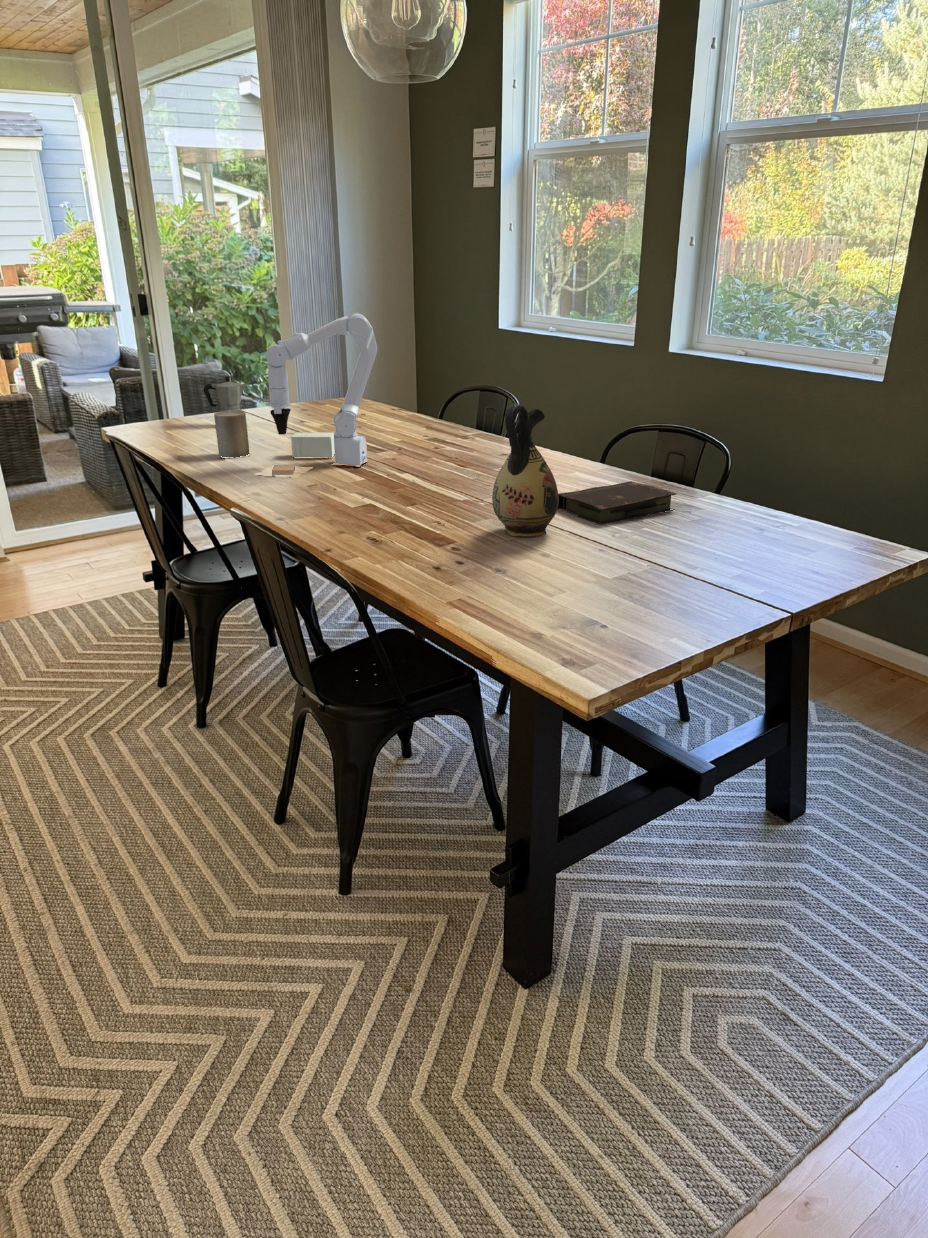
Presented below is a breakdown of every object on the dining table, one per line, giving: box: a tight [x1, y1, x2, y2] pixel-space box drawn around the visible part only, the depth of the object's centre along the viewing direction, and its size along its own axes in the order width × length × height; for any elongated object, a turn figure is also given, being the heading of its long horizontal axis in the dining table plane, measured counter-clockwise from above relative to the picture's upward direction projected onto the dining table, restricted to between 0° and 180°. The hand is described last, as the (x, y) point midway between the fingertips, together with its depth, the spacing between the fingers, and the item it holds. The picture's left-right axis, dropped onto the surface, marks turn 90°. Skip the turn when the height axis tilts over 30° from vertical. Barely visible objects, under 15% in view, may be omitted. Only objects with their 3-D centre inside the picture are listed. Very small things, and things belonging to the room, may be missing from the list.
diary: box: [557, 480, 678, 525], centre depth 226 cm, size 19×25×5 cm
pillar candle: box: [213, 410, 251, 457], centre depth 279 cm, size 10×10×15 cm
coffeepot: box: [203, 376, 248, 412], centre depth 324 cm, size 15×9×18 cm, turn 103°
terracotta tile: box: [272, 464, 296, 476], centre depth 259 cm, size 2×6×6 cm
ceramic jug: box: [491, 403, 559, 537], centre depth 202 cm, size 17×15×30 cm
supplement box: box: [290, 432, 335, 458], centre depth 279 cm, size 7×7×13 cm
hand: (282, 433), depth 265 cm, fingers closed
